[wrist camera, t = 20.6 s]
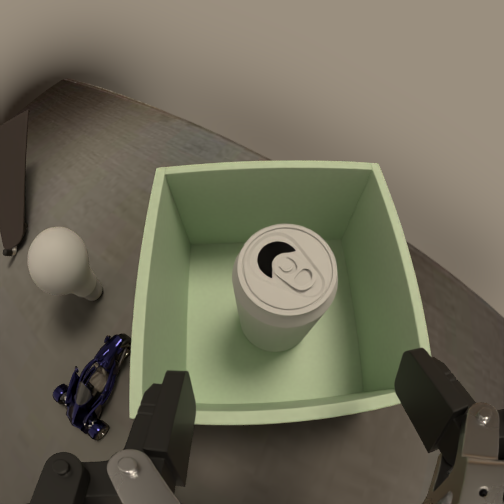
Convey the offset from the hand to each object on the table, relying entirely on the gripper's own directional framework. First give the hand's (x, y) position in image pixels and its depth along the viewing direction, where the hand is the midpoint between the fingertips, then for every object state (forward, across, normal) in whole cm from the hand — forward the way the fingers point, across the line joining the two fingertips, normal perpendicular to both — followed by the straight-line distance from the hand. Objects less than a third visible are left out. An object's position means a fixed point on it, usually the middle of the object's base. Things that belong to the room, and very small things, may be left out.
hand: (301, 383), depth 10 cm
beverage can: (+16, 0, +7) cm, 17 cm away
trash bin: (+17, 0, +7) cm, 18 cm away
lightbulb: (+19, +19, +5) cm, 27 cm away
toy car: (+12, +17, +12) cm, 24 cm away
